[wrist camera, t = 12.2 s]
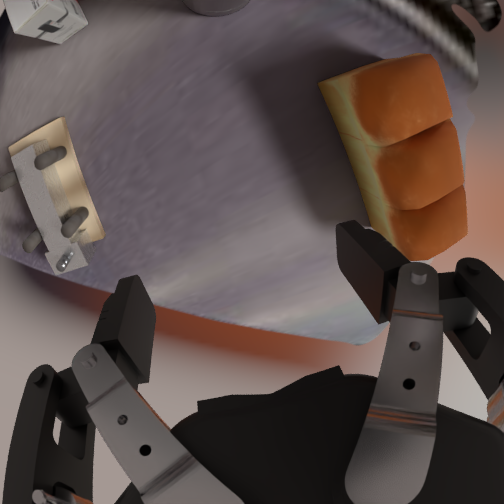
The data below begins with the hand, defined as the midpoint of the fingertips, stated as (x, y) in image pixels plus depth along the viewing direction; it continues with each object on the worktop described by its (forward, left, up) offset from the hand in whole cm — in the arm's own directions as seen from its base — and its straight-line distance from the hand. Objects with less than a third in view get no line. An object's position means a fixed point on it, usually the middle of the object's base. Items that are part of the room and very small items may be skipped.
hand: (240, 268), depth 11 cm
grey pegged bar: (0, -23, -27) cm, 35 cm away
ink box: (-26, -15, -28) cm, 41 cm away
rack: (-2, -23, -28) cm, 36 cm away
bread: (+4, +24, -28) cm, 37 cm away
